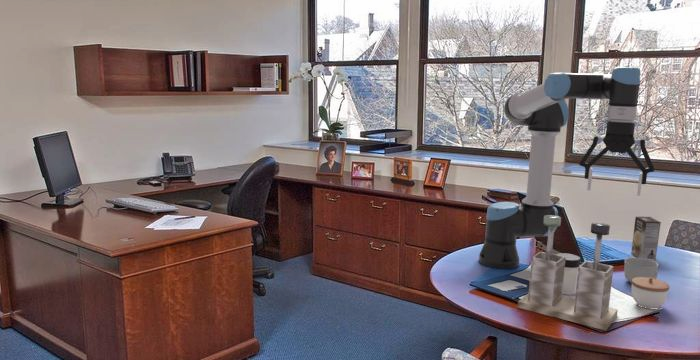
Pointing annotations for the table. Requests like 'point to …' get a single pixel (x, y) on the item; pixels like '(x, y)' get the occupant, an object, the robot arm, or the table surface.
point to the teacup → (640, 268)
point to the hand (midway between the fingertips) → (613, 192)
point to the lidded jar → (649, 292)
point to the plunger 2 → (598, 240)
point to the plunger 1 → (551, 232)
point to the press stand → (583, 309)
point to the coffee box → (645, 238)
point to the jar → (570, 273)
